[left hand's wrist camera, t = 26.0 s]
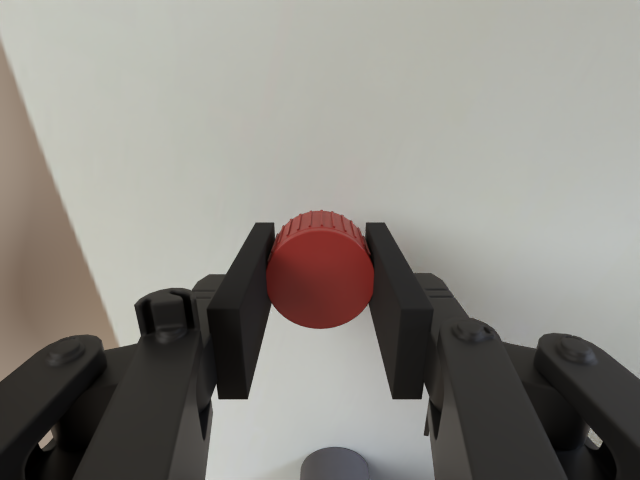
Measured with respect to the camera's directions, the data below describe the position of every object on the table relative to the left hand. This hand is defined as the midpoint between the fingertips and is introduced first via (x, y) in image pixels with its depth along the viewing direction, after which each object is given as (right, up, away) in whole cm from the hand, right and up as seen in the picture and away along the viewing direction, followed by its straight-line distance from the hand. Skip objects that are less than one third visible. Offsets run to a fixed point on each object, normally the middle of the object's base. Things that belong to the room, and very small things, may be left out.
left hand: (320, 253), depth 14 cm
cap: (0, -1, -2) cm, 2 cm away
